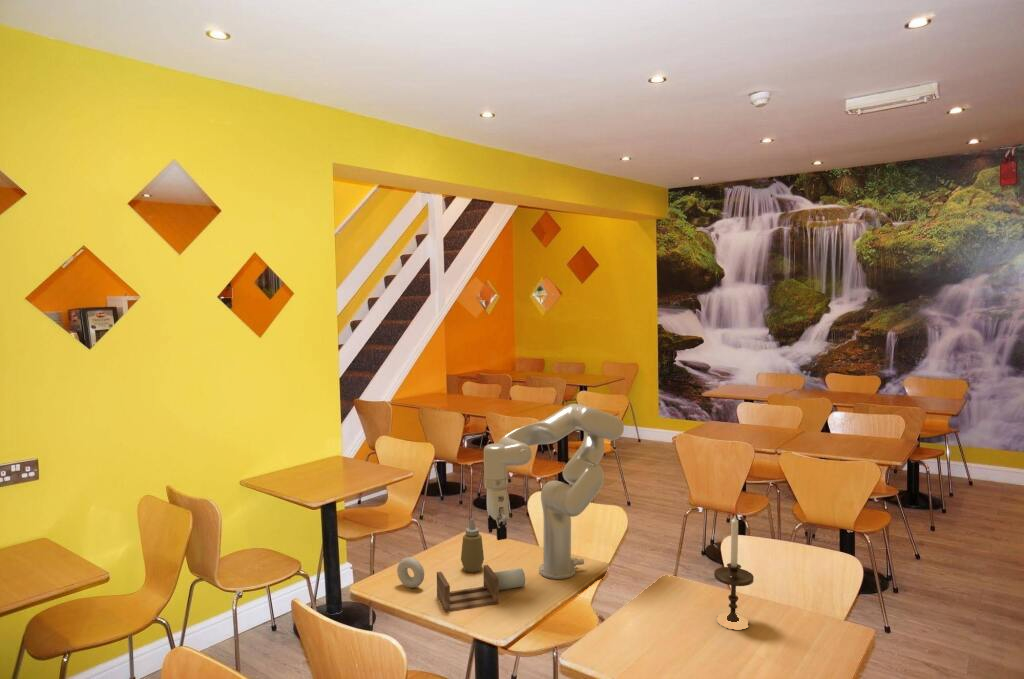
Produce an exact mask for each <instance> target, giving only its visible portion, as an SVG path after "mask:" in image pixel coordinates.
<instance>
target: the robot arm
mask: <svg viewBox="0 0 1024 679" xmlns="http://www.w3.org/2000/svg"><path fill="white" fill-rule="evenodd" d="M624 428H625V426H624V423H623V420H622V419H621V418H620V417H619V416H616V415H614V414H611V413H608V412H606V411H602V410H600V409H598V408H594V407H592V406H588V405H584V404H579V403H570V404H568V405H566V406H564V407H562V408H561V409H560V410H557V411H556V412H554V413H553V414H551V415H550V416H548V417H546V418H544V419H542V420H540V421H538V422H534V423H531V424H527V425H524V426H521V427H519V428H516V429H514V430H512V431H511V432H509V433H507V434H506V435H504V436H503V437H501V438H500V439H499V440H498V441H497V443H489V444H487V445H485V446H484V447H483V472H484V474H483V475H484V477H483V479H484V484H483V485H484V489H486V511H487V529H488V530H489V531H492V530H496V541H501V540H502V541H504V540H507V536H508V532H507V531H508V530H507V528H508V527H507V526H508V525H507V524H508V522H507V520H508V519H509V517H510V512H509V510H510V508H509V499H508V490H507V488H508V486H509V484H508V467H512V466H515V467H518V466H525V465H526V464H528V463H529V462H530V461H531V460H532V457H533V452H532V449H531V446H536V445H537V446H538V445H549V444H554V443H558V442H559V441H560V440H561V439H563V438H565V437H566V436H568V435H569V434H571V433H572V432H574V431H577V430H580V431H583V440H582V443H581V445H579V448H578V449H577V451H575V452H574V454H573V455H572V457H571V458H570V459H569V460H568V462H567V463H566V464H565V465H564V467H563V469H562V477H563V480H565V481H566V482H567V483H569V484H567V483H565V482H562V481H559V480H549V481H548V482H546V483H545V484H544V485H543V486H542V488H541V492H540V501H541V506H542V515H543V543H542V544H543V550H542V551H543V552H542V553H543V555H542V556H543V563H542V564H541V565H540V566H539V567H538V572H539V574H540V575H541V576H542V577H545V578H548V579H551V580H563V579H569V578H572V577H573V576H575V574H576V566H581V565H585V560H584V558H579V559H578V557H577V556H576V557H572V519H571V518H574V517H579V515H581V514H583V512H584V511H585V510H586V508H587V507H589V505H590V503H591V502H592V501H593V500H594V498H595V497H596V496H597V494H598V493H599V492H600V491H601V489H602V487H603V485H604V482H605V471H604V469H603V468H602V466H600V465H599V463H600V462H601V460H602V458H604V454H605V440H608V441H615V440H617V439H619V438H621V436H622V435H623V434H624ZM570 484H571V485H570Z"/></svg>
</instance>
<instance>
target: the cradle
mask: <svg viewBox="0 0 1024 679" xmlns="http://www.w3.org/2000/svg"><path fill="white" fill-rule="evenodd" d="M482 566H483V586H478V587H471V588H466V589H460V590H459V589H458V590H452V591H451V585H450V584H449V582H448V581H447V578H446V577H445V575H444V573H443V572H442V571H436V598H437V600H438V602H439V604H440V603H441V604H440V605H441V607H442V609H443V611H444V613H448V611H450V612H454V610H456V611H462V610H467V609H473V608H478V607H479V608H480V607H485V606H492V605H496V604H497V605H498V604H499V599H500V598H499V594H500V593H499V592H500V590H499V578H498V577H497V576H496V574H495V573H494V571H493V569H492V568H491V567H490V566H489V565H488V564H486V565H485V564H484V565H483V564H482ZM461 609H462V610H461Z"/></svg>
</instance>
